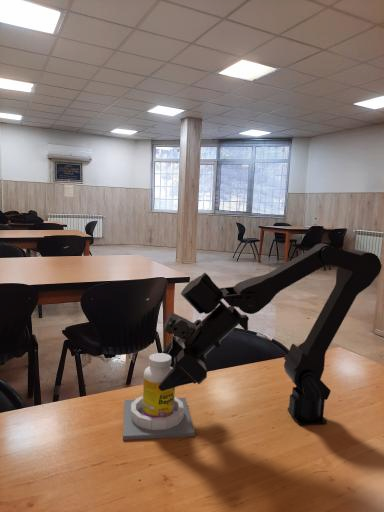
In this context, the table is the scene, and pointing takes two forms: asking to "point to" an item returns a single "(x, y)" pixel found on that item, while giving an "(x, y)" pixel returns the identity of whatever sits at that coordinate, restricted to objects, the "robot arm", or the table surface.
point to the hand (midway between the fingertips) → (159, 378)
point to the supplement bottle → (153, 397)
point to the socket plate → (156, 421)
